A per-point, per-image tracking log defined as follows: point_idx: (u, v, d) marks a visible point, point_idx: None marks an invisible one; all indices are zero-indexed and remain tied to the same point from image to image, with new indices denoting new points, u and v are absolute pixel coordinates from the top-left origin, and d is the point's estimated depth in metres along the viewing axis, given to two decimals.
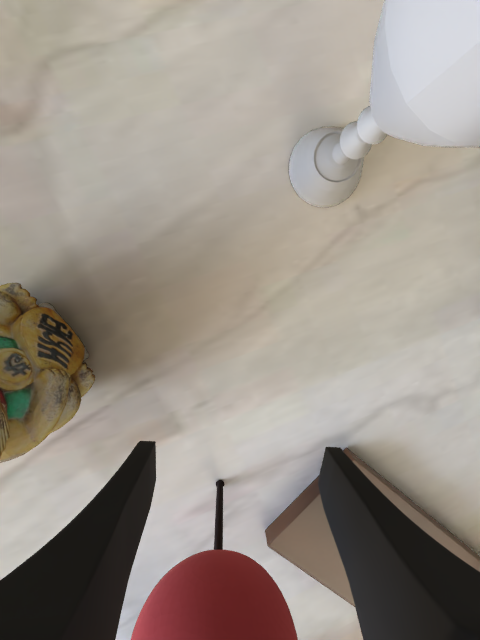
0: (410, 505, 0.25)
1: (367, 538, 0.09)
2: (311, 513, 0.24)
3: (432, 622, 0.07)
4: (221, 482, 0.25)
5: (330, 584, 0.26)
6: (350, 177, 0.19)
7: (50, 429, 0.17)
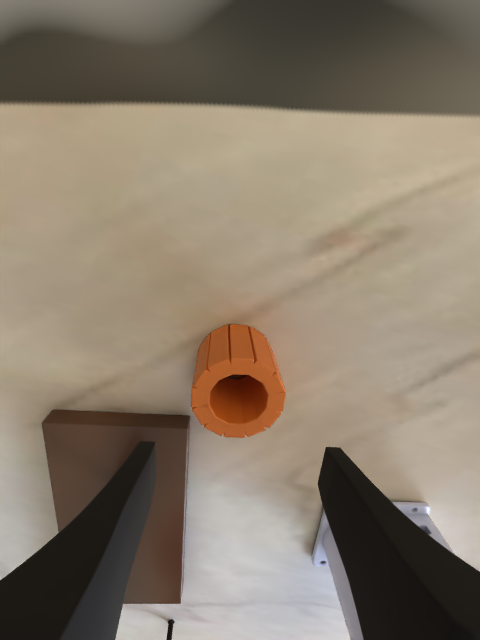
0: None
1: (367, 538, 0.09)
2: (132, 599, 0.28)
3: (432, 622, 0.07)
4: (168, 623, 0.32)
5: (177, 554, 0.26)
6: None
7: None
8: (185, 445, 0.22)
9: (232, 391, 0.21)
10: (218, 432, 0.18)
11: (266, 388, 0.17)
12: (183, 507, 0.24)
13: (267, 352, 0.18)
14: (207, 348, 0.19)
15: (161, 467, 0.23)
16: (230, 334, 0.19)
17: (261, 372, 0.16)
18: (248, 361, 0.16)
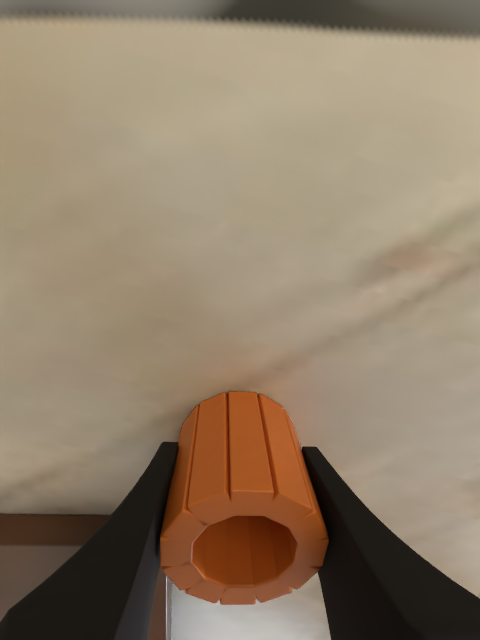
0: None
1: (335, 538, 0.09)
2: None
3: (388, 623, 0.07)
4: None
5: None
6: None
7: None
8: None
9: None
10: (210, 599, 0.10)
11: (295, 534, 0.09)
12: None
13: (291, 452, 0.11)
14: (191, 443, 0.11)
15: None
16: (229, 417, 0.12)
17: (286, 511, 0.09)
18: (263, 495, 0.09)
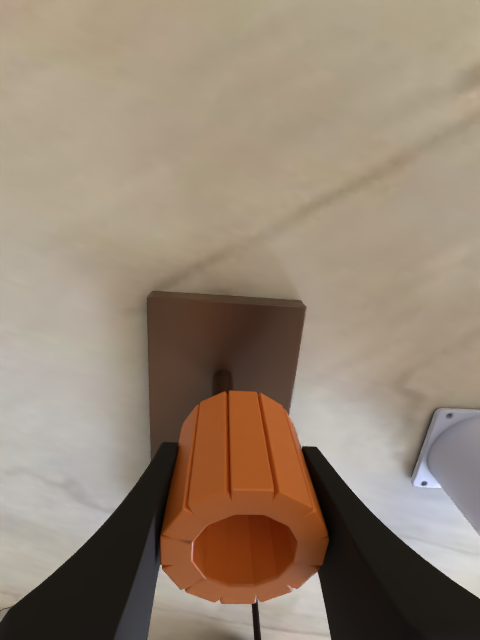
0: None
1: (336, 538, 0.09)
2: None
3: (387, 623, 0.07)
4: None
5: None
6: None
7: None
8: (301, 328, 0.20)
9: None
10: (210, 598, 0.10)
11: (295, 534, 0.09)
12: (288, 408, 0.22)
13: (292, 451, 0.11)
14: (191, 442, 0.11)
15: (271, 356, 0.21)
16: (230, 416, 0.12)
17: (287, 510, 0.09)
18: (263, 494, 0.09)
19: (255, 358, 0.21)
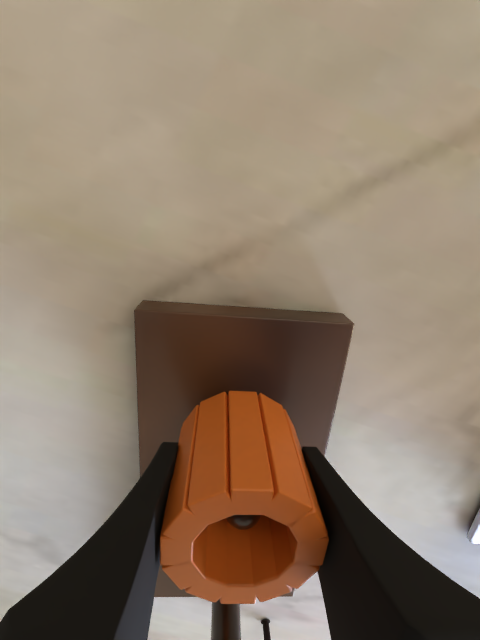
0: None
1: (336, 538, 0.09)
2: None
3: (388, 623, 0.07)
4: (262, 623, 0.24)
5: None
6: None
7: None
8: (345, 352, 0.15)
9: None
10: (209, 598, 0.10)
11: (295, 534, 0.09)
12: (323, 454, 0.17)
13: (291, 451, 0.11)
14: (191, 443, 0.11)
15: (303, 389, 0.15)
16: (229, 417, 0.12)
17: (287, 510, 0.09)
18: (263, 494, 0.09)
19: (282, 391, 0.15)
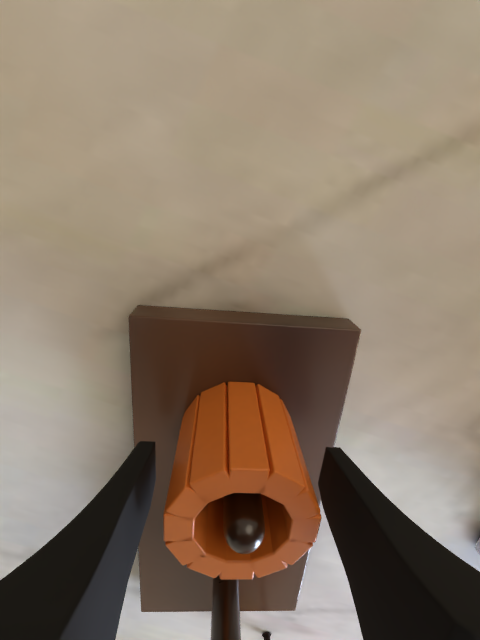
0: None
1: (367, 538, 0.09)
2: None
3: (432, 623, 0.07)
4: (263, 636, 0.23)
5: None
6: None
7: None
8: (352, 360, 0.14)
9: None
10: (210, 574, 0.11)
11: (289, 511, 0.10)
12: None
13: (287, 437, 0.12)
14: (192, 429, 0.12)
15: (307, 398, 0.14)
16: (228, 405, 0.12)
17: (281, 489, 0.10)
18: (259, 473, 0.09)
19: (285, 401, 0.14)
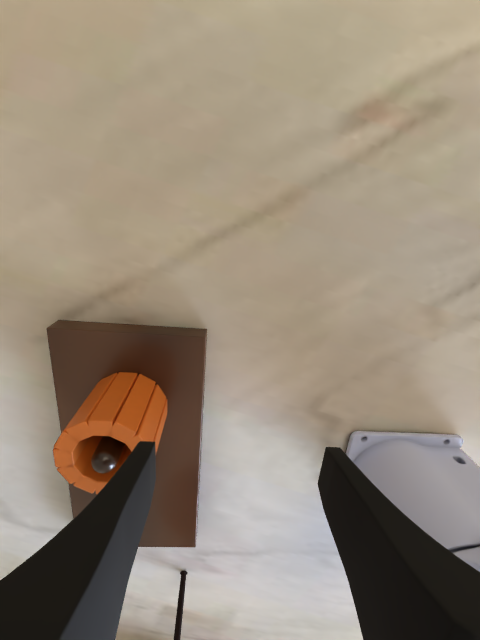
0: (69, 487, 0.24)
1: (367, 538, 0.09)
2: (143, 541, 0.26)
3: (432, 622, 0.07)
4: (181, 574, 0.30)
5: (193, 489, 0.24)
6: None
7: None
8: (202, 357, 0.20)
9: None
10: (88, 490, 0.17)
11: (130, 448, 0.17)
12: (199, 432, 0.23)
13: (142, 406, 0.18)
14: (84, 401, 0.18)
15: (176, 384, 0.21)
16: (109, 386, 0.19)
17: (121, 433, 0.16)
18: (106, 423, 0.16)
19: (161, 386, 0.21)
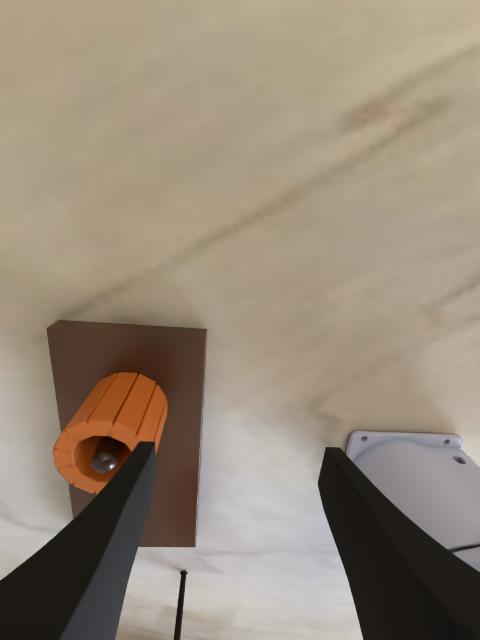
0: (69, 487, 0.24)
1: (367, 538, 0.09)
2: (143, 541, 0.26)
3: (432, 622, 0.07)
4: (181, 574, 0.30)
5: (193, 489, 0.24)
6: None
7: None
8: (202, 357, 0.20)
9: None
10: (88, 490, 0.17)
11: (130, 448, 0.17)
12: (199, 432, 0.23)
13: (142, 406, 0.18)
14: (84, 401, 0.18)
15: (176, 384, 0.21)
16: (109, 386, 0.19)
17: (121, 433, 0.16)
18: (106, 423, 0.16)
19: (161, 386, 0.21)
